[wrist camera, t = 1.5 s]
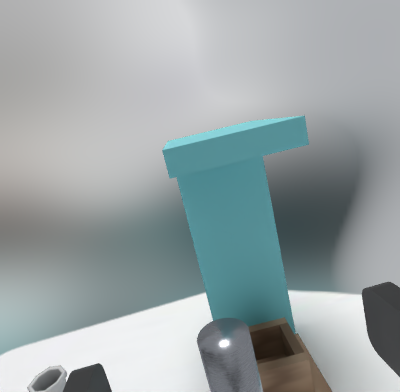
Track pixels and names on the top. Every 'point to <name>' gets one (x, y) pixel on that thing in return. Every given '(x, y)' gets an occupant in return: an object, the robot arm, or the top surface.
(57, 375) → the flask
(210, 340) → the peg
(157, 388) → the top surface
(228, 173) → the teal angle bracket
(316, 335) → the top surface
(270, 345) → the socket
